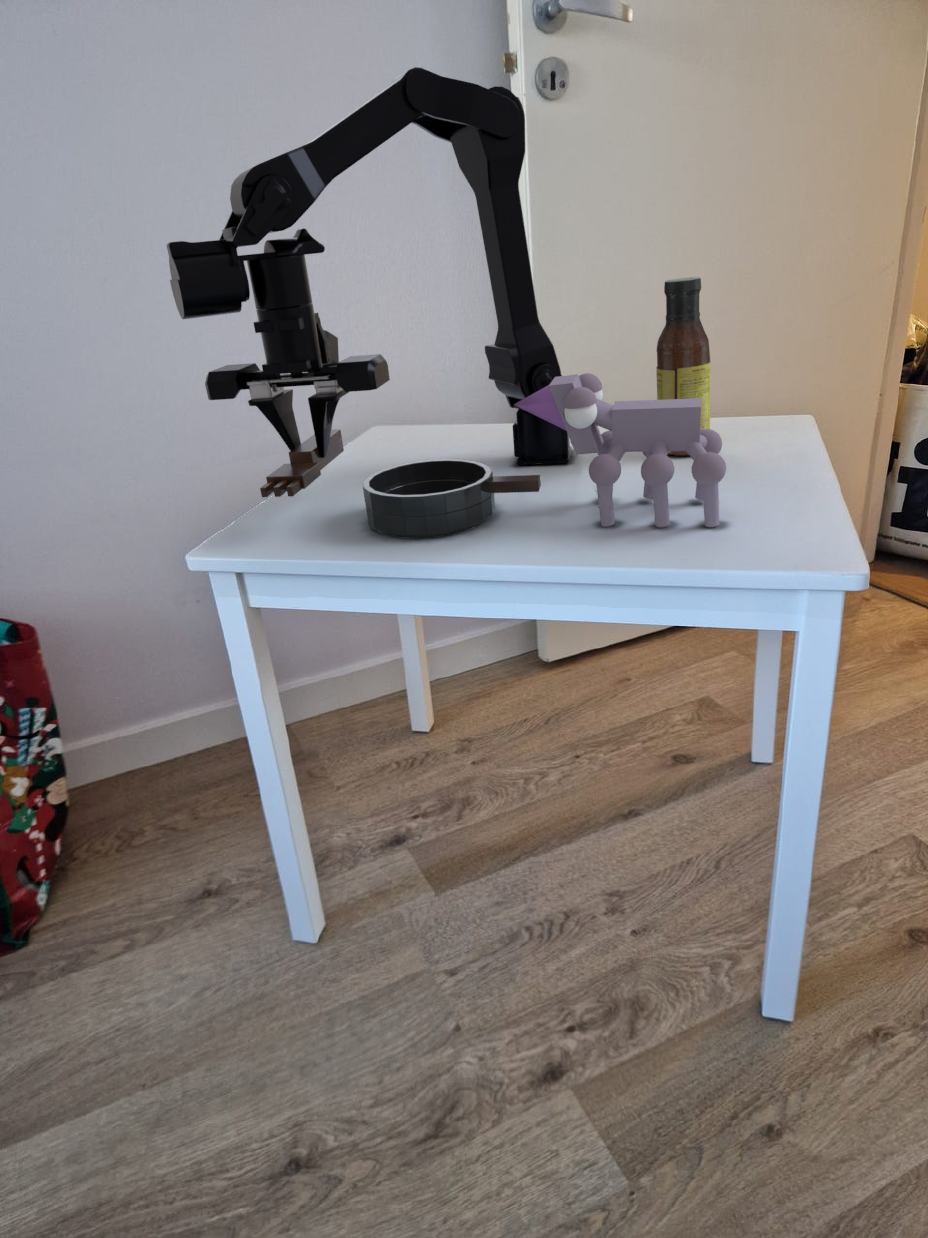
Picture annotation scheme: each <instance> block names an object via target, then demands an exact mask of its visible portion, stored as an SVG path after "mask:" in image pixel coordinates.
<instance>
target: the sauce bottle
mask: <svg viewBox="0 0 928 1238" xmlns="http://www.w3.org/2000/svg"><path fill="white" fill-rule="evenodd" d="M701 279H702V278H701V277H700V276H692V277H691V276H690V277H680V278H673V279H667V280H665V281H664V289H663V290H664V291H663V292H664V295H665V304H666V305H665V310H666V313H665V314H666V315H665V325H664V327H663V329H662V331H661V333H660V335H659V337H658V340H657V343H656V368H655V369H656V371H655V372H656V400H667V399H695V398H702V401H701V425H700V430H703V429H711V351H710V340H709V337H708V335H707V333H706V331H705V329H704V326H703V324H702V320H701V318H700V317H701V312H700V294H701V293H700V292H701V290H702V280H701ZM667 455H671V456H676V457H677V456H690V455H689V454H688V452H687V451H669V453H668V454H667Z"/></svg>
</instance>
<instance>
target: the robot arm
mask: <svg viewBox="0 0 928 1238" xmlns="http://www.w3.org/2000/svg"><path fill="white" fill-rule="evenodd" d="M525 114H526V113H525V111H524V105H523V103H522V101H521V99H520V97H518V96H517V95H515V94H514V92H513V91H511V90H510V89H508V88H507V87H504V86H496V85H494V86H492V87H489V88H486V87H485V86H482V85H480V84H477V83H474V82H469V81H466V80H465V81H464V80H460V79H456V78H451V77H447V76H442V75H440V74H437V73H436V72H433V71H430V70H427V69H425V68H424V67H419V66H418V67H417V66H414V67H412V68H410V69H407V70H406V71H404V72H402V73H401V74H399V75H397V76H396V77H394V78H393V79H392V80H391V82H390V83H389V85H387V86H386V87H385V88H384V89H381V91H379V92H378V93H376V94H375V95H374V96H372V97H371V98H369V99H368V100H366V101H365V102H364V103H362V104H361V105H359V106H358V107H357V108H355V109H354V110H352V111H351V112H350V113H348V114H346V115H345V116H343V117H342V118H341V119H340V120H338V121H337V122H335V123H334V124H332V125H331V126H330V127H328V128H327V129H325V130H324V131H323V132H321V133H320V134H318V135H317V136H316V137H314V138H313V139H312V140H310V141H309V142H307V143H306V144H303V145H301V146H299V147H296V148H294V149H291V150H289V151H287V152H284V153H281V154H280V155H277V156H275V157H273V158H270V159H268V160H265V161H263V162H260V163H258V164H257V165H254V166H252V167H250V168H248V169H247V170H244V171H243V172H241V173H239V174H238V175H237V177H235V178H234V180H233V182H232V184H231V186H230V195H229V201H230V207H231V212H230V215H229V217H228V219H227V221H226V224H225V226H224V228H223V229H222V230H221V231H222V233H221V235H220V237H219V239H217V240H207V241H206V240H205V241H194V242H192V241H185V240H180V241H171V242H170V241H169V242H168V243H166V250H167V255H168V264H169V272H170V278H171V279H169V283H170V287H171V288H170V289H171V292H172V297H173V299H174V302H175V306H176V309H177V311H178V314H179V316H180V318H181V319H182V320H190V319H191V320H192V319H198V318H206V317H214V316H222V315H228V314H229V315H230V314H236V313H241V311H242V307H243V306H242V305H243V303H244V302H245V303H246V302H247V301H249V300H250V297H251V294H250V293H251V290H252V295H253V300H254V304H255V309H256V311H255V312H256V316H257V321H254V322H253V328H254V333H255V334H260V336H261V340H262V347H263V351H264V357H265V361H266V362H265V363H263V364H261V368H262V369H260V367H259V366H258V365H257V363H255V362H252V363H237V364H226V365H224V366H222V367H219V368H216V369H213V370H210V371H208V373H207V375H206V377H205V384H204V385H205V390H206V394H207V399H208V400H209V401H220V400H221V401H222V400H234V399H236V398H237V396H238V395H239V393H240V392H241V391H243V390H249V397H250V399H248V400H247V403H248V405H249V407H257V409H258V411H260V412H261V414H262V415H263V416H264V417H265V418H266V419H267V420H268V422H269V423H270V424H271V425H272V427H273V428H274V429H275V431H276V432H277V433H278V435H279V436H280V438H281V439H282V441H283V442H284V444H285V446H286V447H287V448H288V449H289V452H290V451H291V450H293V449H294V448H296V447H297V446H299V445H300V444H301V443H302V442H301V437H300V433H299V429H298V426H297V421H296V417H295V412H294V407H293V398H294V389H293V388H289V387H307V386H313V387H314V389H315V392H316V393H314V394H312V395H310V396H309V397H308V398H307V401H308V405H309V411H310V412H309V413H310V417H311V422H312V429H313V433H314V434H315V439H316V444H317V448H318V451H319V454H320V457H321V458H324V457H326V456H327V452H328V446H329V440H330V434H331V430H332V429H333V421H334V418H335V413H336V409H337V406H338V404H339V401H340V400H341V398H343V397H344V396H346V395H347V394H349V393H351V392H367V391H368V392H369V391H373V390H377V389H379V388H380V387H382V386H383V385H385V384H386V383H388V382H389V381H390V379H391V378H390V371H389V364H388V362H387V359H385V357H384V356H383V354H380V353H379V354H363V355H351V356H348V357H346V358H343V359H342V360H341V361H340V357H339V356H340V355H339V337H337V336H336V335H334V334H333V333H331V332H330V331H328V330H325V329H324V328H323V326H322V322H321V318H320V316H319V312H315V309H314V303H313V298H312V291H311V285H310V279H309V273H308V266H307V260H306V256H305V255H313V254H315V255H316V254H322V253H324V252H325V250H326V247H325V246H324V244H323V243H322V242H319V241H318V240H317V239H315V238H314V237H313V236H312V235H311V234H310V233H309V231H308V229H306V228H299V229H297V230H296V231H295V234H294V235H293V236H292V237H288V238H287V237H286V238H276V239H268V240H266V241H265V242H264V245H263V252H260V253H251V254H241V255H238V254H239V253H238V248H243V247H249V246H256V245H258V244H259V243H260V242H261V241H262V240H264V238H265V237H266V236H267V235H268V234H273V233H277V232H283V231H285V230H287V229H290V228H291V227H293V225H295V224H296V223H297V222H298V221H299V220H300V218H301V217H302V216H303V215H305V213H306V212H307V211H308V210H309V209H310V208H311V207H312V206H313V204H314V203H315V202H316V201H317V199H319V197H320V196H321V194H322V193H323V192H324V190H325V189H326V188H327V186H328V185H329V184H330V183H331V182H332V181H333V180H334V179H335V178H336V177H338V176H339V175H341V174H342V173H344V172H345V171H346V170H348V169H349V168H350V167H352V166H354V165H355V164H356V163H358V162H359V161H360V160H362V159H363V158H364V157H366V156H368V154H370V153H372V152H373V151H374V150H376V149H377V148H378V147H380V146H381V145H383V144H384V143H386V142H387V141H389V140H390V139H391V138H392V137H394V136H395V135H396V134H398V133H399V132H401V131H402V130H404V129H405V128H407V127H408V126H409V125H410V124H413V125H416V126H417V127H419V128H420V129H422V130H423V131H425V132H427V133H428V134H429V135H431V136H433V137H435V138H437V139H439V140H443V141H444V142H448V143H451V145H452V149H453V152H454V155H455V158H456V161H457V164H458V167H459V169H460V171H461V172H462V175H463V176H464V177H465V179H466V181H467V183H468V185H469V186H470V188H471V189H472V191H473V193H474V197H475V201H476V206H477V212H478V218H479V224H480V230H481V235H482V240H483V241H482V242H483V246H484V247H483V248H484V252H485V257H486V263H487V264H486V265H487V269H488V275H489V282H490V286H491V292H492V298H493V304H494V311H495V315H496V320H497V332H496V336H495V340H494V344H488V345H487V344H486V345H484V354H485V356H486V359H487V362H488V368H489V370H488V371H489V372H488V380H492V381H494V384H495V388H496V389H497V390H498V391H499V392H500V393H502V394H503V395H505V398H506V400H507V403H508V405H509V408H511V409H517V410H516V413H515V414H516V420H515V421H514V422H513V424H512V441H513V456H514V457H515V458H517V459H516V465H518V466H521V465H522V466H523V465H548V464H549V465H550V464H551V465H553V464H569V462H570V460H571V459H570V458H571V455H572V446H570V445H571V444H570V443H571V441H570V438H569V436H568V433H567V431H566V430H564V429H562V428H560V427H558V426H556V425H554V424H552V423H550V422H548V421H546V420H544V419H542V418H540V417H538V416H536V415H534V414H532V413H529V412H527V411H525V410H523V409H521V408H519V407H517V406H515V405H514V404H516V403H518V402H519V401H521V400H523V399H525V398H526V397H528V396H530V395H532V394H534V393H535V392H537V391H539V390H541V389H543V388H544V387H546V386H548V385H550V383H551V382H552V381H553V379H554V378H555V377H558V376H563V375H562V370H561V367H560V363H559V361H558V360H559V359H558V357H557V354H556V353H557V352H556V350H555V346H554V344H553V341H552V340H551V339H550V337H549V336H548V334H547V332H546V331H545V329H544V327H543V326H542V325H543V324H541V322H540V318H539V313H538V306H537V300H536V295H535V287H534V281H533V274H532V267H531V260H530V255H529V248H528V247H529V246H528V240H527V235H526V228H525V227H526V226H525V221H524V220H525V219H524V214H523V208H522V207H523V206H522V202H521V193H520V177H521V174H522V168H523V165H524V160H525V156H526V115H525ZM245 262H246V264H247V269H248V273H247V269H246V266H245ZM248 274H249V277H248ZM249 279H250V280H249ZM249 281H250V283H249ZM250 284H251V289H250ZM284 388H289V389H284ZM314 434H313V435H314Z"/></svg>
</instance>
